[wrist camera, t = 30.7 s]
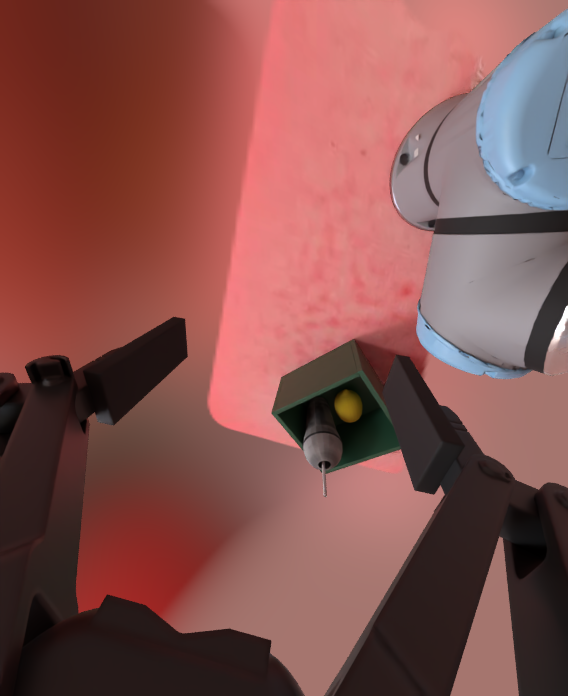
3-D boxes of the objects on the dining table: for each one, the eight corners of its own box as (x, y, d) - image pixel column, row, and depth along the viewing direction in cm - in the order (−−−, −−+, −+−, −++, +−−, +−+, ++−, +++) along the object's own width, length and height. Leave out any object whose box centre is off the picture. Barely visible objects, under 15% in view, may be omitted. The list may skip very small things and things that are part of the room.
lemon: (349, 401, 46) (354, 434, 49) (365, 386, 49) (369, 417, 52) (325, 393, 50) (332, 423, 53) (342, 379, 53) (347, 408, 56)
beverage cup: (338, 395, 54) (359, 480, 36) (328, 420, 57) (342, 509, 39) (306, 388, 53) (311, 470, 35) (297, 413, 57) (298, 501, 39)
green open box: (353, 338, 48) (362, 369, 38) (394, 402, 53) (411, 445, 43) (281, 377, 55) (271, 413, 44) (323, 431, 60) (323, 474, 49)
